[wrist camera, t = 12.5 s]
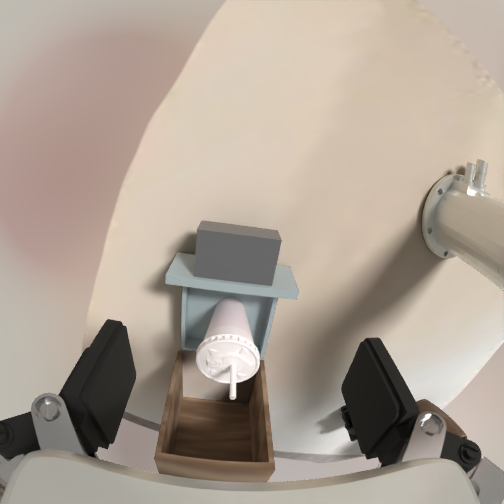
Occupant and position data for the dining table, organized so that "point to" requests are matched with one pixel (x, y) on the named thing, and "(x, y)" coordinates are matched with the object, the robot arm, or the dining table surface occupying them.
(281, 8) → the dining table surface
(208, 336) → the smoothie
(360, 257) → the dining table surface
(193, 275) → the tray
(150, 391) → the dining table surface
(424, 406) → the plant pot
